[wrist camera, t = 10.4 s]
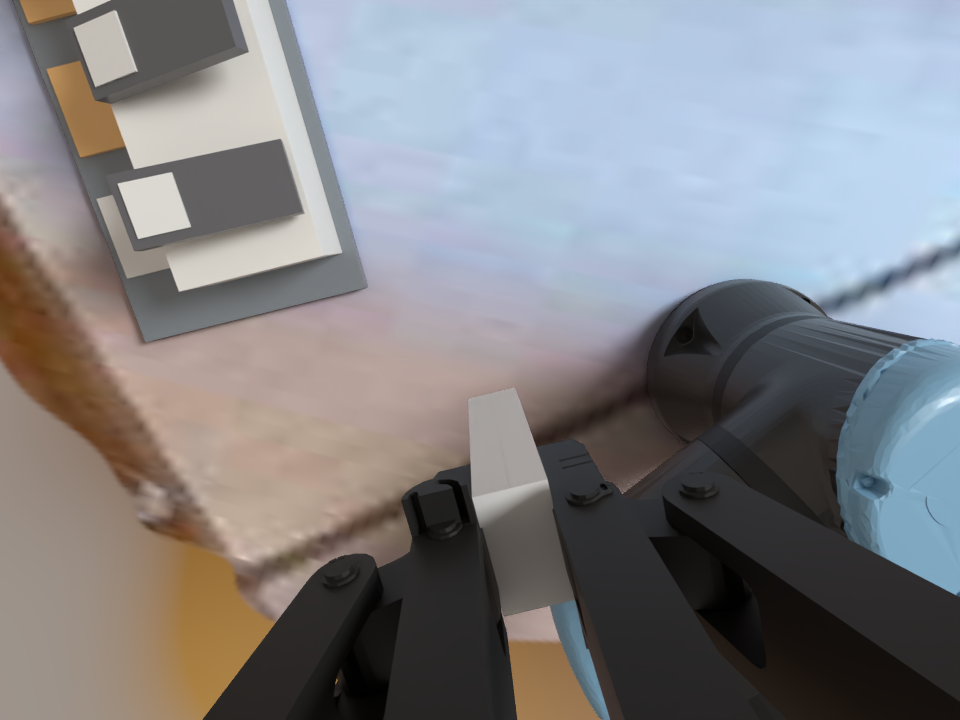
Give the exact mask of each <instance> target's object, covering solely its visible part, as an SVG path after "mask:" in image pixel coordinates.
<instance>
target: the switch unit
mask: <svg viewBox="0 0 960 720" xmlns="http://www.w3.org/2000/svg"><path fill="white" fill-rule="evenodd" d="M108 1H110V0H13V3H14V5H15V8H16V10H17V13H18V15H19V18H20V21H21V23H22V26H23V28H24V31H25V33H26V36H27V39H28V41H29V44H30V46H31V49H32V51H33V54H34V57H35V59H36V62H37V64H38V67H39V69H40V72H41V75H42V77H43V80H44V82H45V85H46V87H47V90H48V93H49V95H50V98H51V100H52V103H53V106H54V108H55V111H56V113H57V116H58V118H59V121H60V124H61V126H62V129H63V131H64V134H65V136H66V139H67V142H68V144H69V147H70V149H71V152H72V154H73V157H74V160H75V162H76V165H77V167H78V170H79V172H80V175H81V178H82V180H83V183H84V185H85V188H86V190H87V193H88V196H89V198H90V201H91V203H92V206H93V208H94V211H95V214H96V216H97V219H98V221H99V224H100V226H101V229H102V232H103V234H104V237H105V239H106V242H107V244H108V247H109V250H110V252H111V255H112V257H113V260H114V263H115V265H116V268H117V270H118V273H119V275H120V278H121V281H122V283H123V286H124V288H125V291H126V293H127V296H128V299H129V301H130V304H131V306H132V309H133V311H134V314H135V317H136V319H137V322H138V324H139V327H140V329H141V332H142V335H143V337H144V340H145V342H149V341H153V340H157V339H161V338H165V337H169V336H173V335H177V334H181V333H185V332H189V331H193V330H197V329H201V328H205V327H209V326H213V325H217V324H221V323H225V322H229V321H234V320H238V319H242V318H246V317H250V316H254V315H258V314H262V313H266V312H270V311H274V310H278V309H282V308H286V307H290V306H294V305H298V304H302V303H306V302H310V301H314V300H318V299H322V298H326V297H331V296H335V295H339V294H343V293H347V292H351V291H355V290H359V289H363V288H366V287H368V285H367V281H366V278H365V274H364V271H363V267H362V264H361V261H360V257H359V254H358V250H357V247H356V243H355V240H354V236H353V233H352V229H351V226H350V222H349V219H348V215H347V212H346V208H345V205H344V201H343V198H342V194H341V191H340V187H339V184H338V181H337V177H336V174H335V170H334V167H333V163H332V160H331V156H330V153H329V149H328V146H327V142H326V139H325V135H324V132H323V128H322V125H321V121H320V118H319V114H318V111H317V107H316V104H315V100H314V97H313V94H312V90H311V87H310V83H309V80H308V76H307V73H306V69H305V66H304V62H303V59H302V55H301V52H300V48H299V45H298V41H297V38H296V34H295V31H294V27H293V24H292V20H291V17H290V14H289V10H288V7H287V3H286V0H233V1H234V5H235V8H236V11H237V14H238V18H239V21H240V24H241V27H242V31H243V34H244V37H245V41H246V44H247V47H248V50H249V52H248V53H245V54H242V55H240V56H237V57H235V58H232V59H229V60H227V61H224V62H221V63H219V64H216V65H213V66H211V67H208V68H206V69H203V70H200V71H198V72H195V73H192V74H190V75H187V76H184V77H182V78H179V79H176V80H174V81H171V82H169V83H166V84H163V85H161V86H158V87H155V88H153V89H150V90H147V91H145V92H142V93H140V94H137V95H134V96H132V97H129V98H126V99H124V100H121V101H118V102H116V103H113V104H109V103H104V102H99V101H95V100H94V97H93V94H92V92H91V89H90V86H89V84H88V81H87V78H86V76H85V73H84V70H83V67H82V65H81V62H80V59H79V57H78V54H77V51H76V49H75V46H74V43H73V41H72V38H71V35H70V33H69V30H68V27H67V24H66V22H65V20H67V19H69V18H71V17H74V16H76V15H78V14H80V13H83V12H85V11H87V10H90V9H92V8H94V7H96V6H99V5H101V4H103V3H105V2H108ZM277 139H281V140H282V142H283V144H284V147H285V150H286V154H287V157H288V160H289V164H290V167H291V170H292V173H293V177H294V180H295V183H296V187H297V190H298V193H299V196H300V200H301V203H302V206H303V210H304V213H305V214H301V215H297V216H293V217H288V218H284V219H280V220H275V221H271V222H267V223H263V224H258V225H254V226H250V227H245V228H241V229H237V230H232V231H228V232H224V233H219V234H215V235H211V236H206V237H202V238H198V239H193V240H189V241H185V242H181V243H176V244H172V245H168V246H163V247H159V248H155V249H150V250H146V251H134V250H133V247H132V244H131V242H130V239H129V236H128V234H127V231H126V229H125V226H124V223H123V221H122V218H121V215H120V213H119V210H118V207H117V205H116V202H115V199H114V197H113V194H112V192H111V189H110V186H109V184H108V181H107V178H106V176H105V175H109V174H114V173H119V172H124V171H128V170H133V169H138V168H143V167H147V166H152V165H157V164H162V163H167V162H171V161H176V160H181V159H186V158H190V157H195V156H200V155H205V154H210V153H214V152H219V151H224V150H229V149H234V148H238V147H243V146H248V145H253V144H257V143H262V142H267V141H272V140H277Z"/></svg>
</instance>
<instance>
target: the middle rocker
mask: <svg viewBox="0 0 960 720" xmlns="http://www.w3.org/2000/svg"><path fill="white" fill-rule="evenodd" d="M65 22H66V24H67V27H68V30H69V33H70V35H71V38H72V41H73V43H74V46H75V49H76V51H77V54H78V57H79V59H80V62H81V65H82V67H83V70H84V73H85V76H86V78H87V81H88V84H89V86H90V89H91V92H92V94H93V97H94V100H95V101H99V102H104V103H109V104H113V103H116V102H118V101H121V100H124V99H126V98H129V97H132V96H134V95H137V94H140V93H142V92H145V91H147V90H150V89H153V88H155V87H158V86H161V85H163V84H166V83H169V82H171V81H174V80H176V79H179V78H182V77H184V76H187V75H190V74H192V73H195V72H198V71H200V70H203V69H206V68H208V67H211V66H213V65H216V64H219V63H221V62H224V61H227V60H229V59H232V58H235V57H237V56H240V55H242V54H245V53H248V52H249V50H248V47H247V44H246V41H245V37H244V34H243V31H242V27H241V24H240V21H239V18H238V14H237V11H236V8H235V5H234V1H233V0H110V1H108V2H105V3H103V4H101V5H99V6H96V7H94V8H92V9H90V10H87V11H85V12H83V13H80V14H78V15H76V16H74V17H71V18H69V19H67V20H65Z"/></svg>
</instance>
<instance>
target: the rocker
mask: <svg viewBox="0 0 960 720" xmlns="http://www.w3.org/2000/svg"><path fill="white" fill-rule="evenodd" d="M105 176H106V178H107V181H108V184H109V186H110V189H111V192H112V194H113V197H114V199H115V202H116V205H117V207H118V210H119V213H120V215H121V218H122V221H123V223H124V226H125V229H126V231H127V234H128V236H129V239H130V242H131V244H132V247H133V250H134V251H146V250H150V249H155V248H159V247H163V246H168V245H172V244H176V243H181V242H185V241H189V240H193V239H198V238H202V237H206V236H211V235H215V234H219V233H224V232H228V231H232V230H237V229H241V228H245V227H250V226H254V225H258V224H263V223H267V222H271V221H275V220H280V219H284V218H288V217H293V216H297V215H301V214H305V213H304V210H303V206H302V203H301V200H300V196H299V193H298V190H297V187H296V183H295V180H294V177H293V173H292V170H291V167H290V164H289V160H288V157H287V154H286V150H285V147H284V144H283V142H282V140H281V139H277V140H272V141H267V142H262V143H257V144H253V145H248V146H243V147H238V148H234V149H229V150H224V151H219V152H214V153H210V154H205V155H200V156H195V157H190V158H186V159H181V160H176V161H171V162H167V163H162V164H157V165H152V166H147V167H143V168H138V169H133V170H128V171H124V172H119V173H114V174H109V175H105Z"/></svg>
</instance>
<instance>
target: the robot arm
mask: <svg viewBox="0 0 960 720" xmlns="http://www.w3.org/2000/svg"><path fill="white" fill-rule="evenodd" d="M647 388H648V394H649V398H650V401H651V404H652V406H653V409H654V411H655V413H656V415H657V416H658V418H659V420H660V421H661V422H662V424H663V425H664V426H665V427H666V428H667V429H668V430H669V431H670V432H671V433H672V434H673V435H674V436H675V437H676V438H677V439H678V440H679V441H680V442H681V443H683V444H684V445H685V447H683V448H682V449H681V450H679V451H678V452H677V453H676V454H674V455H673V456H672V457H670V458H669V459H668V460H666V461H665V462H664V463H663V464H661V465H660V466H659V467H657V468H656V469H655V470H653V471H652V472H651V473H650V474H648V475H647V476H646V477H644V478H643V479H642V480H640V481H639V482H638V483H637V484H635V485H634V486H633V487H631V488H630V489H629V490H627V491H626V492H625V493H624V494H621V492H620V490H619V489H618V488H617V487H616V486H615V485H614V484H613V483H610V482H607V481H604V479H603V477H602V475H601V474H600V472H599V470H598V469H597V467H596V465H595V463H594V462H593V460H592V458H591V457H590V455H589V453H588V451H587V450H586V448H585V446H584V445H583V444H581V443H579V442H577V441H575V440H573V439H568V440H564V441H560V442H556V443H552V444H547V445H543V446H539V447H536V445H535V442H534V440H533V437H532V434H531V431H530V428H529V425H528V423H527V420H526V417H525V414H524V411H523V408H522V405H521V403H520V400H519V397H518V394H517V391H516V388H511V389H507V390H503V391H498V392H494V393H490V394H486V395H482V396H478V397H474V398H469V399H468V410H469V435H470V460H471V464H470V465H466V466H462V467H458V468H454V469H450V470H445V471H441V472H438V474H437V475H436V476H435V477H434V478H433V479H431V480H428V481H425V482H422V483H420V484H418V485H417V486H415V487H413V488H412V489H410V490H409V491H408V492H407V493H405V495H404V496H403V498H402V500H401V501H402V505H403V508H404V511H405V515H406V518H407V521H408V525H409V528H410V531H411V535H412V543H411V549H410V552H409V553H407V554H406V555H404V556H403V557H401V558H399V559H397V560H395V561H393V562H391V563H389V564H386V565H384V566H382V567H379V568H377V566H376V563H375V560H374V558H373V557H371V556H369V555H367V554H351V555H344V556H341V557H338V559H336V558H335V559H333V560H331V561H329V562H328V563H327V564H326V565H324V566H323V567H321V568H320V569H318V570H317V571H316V572H315V573H314V574H313V575H312V576H311V577H310V578H309V580H308V581H307V582H306V584H305V585H304V586H303V588H302V589H301V590H300V592H299V593H298V594H297V596H296V597H295V598H294V600H293V601H292V602H291V604H290V605H289V606H288V608H287V609H286V610H285V611H284V613H283V614H282V615H281V617H280V618H279V619H278V621H277V622H276V623H275V625H274V626H273V627H272V629H271V630H270V631H269V633H268V634H267V635H266V637H265V638H264V639H263V641H262V642H261V643H260V645H259V646H258V647H257V648H256V650H255V651H254V652H253V654H252V655H251V656H250V658H249V659H248V660H247V662H246V663H245V664H244V666H243V667H242V668H241V670H240V671H239V672H238V674H237V675H236V676H235V678H234V679H233V680H232V681H231V683H230V684H229V685H228V687H227V688H226V689H225V691H224V692H223V693H222V695H221V696H220V697H219V699H218V700H217V701H216V703H215V704H214V705H213V707H212V708H211V709H210V711H209V712H208V713H207V714H206V716H205V717H204V718H203V720H517V715H516V705H515V698H514V689H513V680H512V672H511V663H510V655H509V646H508V638H507V632H506V628H505V624H504V620H503V617H502V613H501V608H502V611H503V615H504V616H508V615H513V614H517V613H521V612H525V611H530V610H534V609H538V608H543V607H547V606H550V608H551V612H552V616H553V620H554V623H555V626H556V629H557V632H558V635H559V638H560V641H561V644H562V646H563V649H564V652H565V654H566V656H567V659H568V661H569V663H570V666H571V668H572V670H573V672H574V674H575V676H576V678H577V680H578V682H579V684H580V686H581V688H582V690H583V692H584V694H585V696H586V698H587V699H588V701H589V703H590V705H591V706H592V708H593V710H594V711H595V713H596V714H597V715H598V717H599V718H600V719H602V720H960V346H959V345H956V344H954V343H952V342H947V341H944V340H934V339H932V338H931V339H929V340H928V339H924V338H919V337H914V336H909V335H904V334H900V333H895V332H890V331H885V330H880V329H876V328H871V327H866V326H861V325H856V324H852V323H847V322H842V321H837V320H833V319H832V318H830V317H827V315H826V314H825V313H824V311H823V310H822V309H821V308H820V307H819V306H818V305H817V304H816V303H815V302H813V301H812V300H811V299H810V298H808V297H807V296H805V295H804V294H802V293H800V292H799V291H797V290H794V289H792V288H790V287H787V286H785V285H781V284H778V283H773V282H767V281H761V280H753V279H737V280H729V281H724V282H721V283H717V284H714V285H711V286H709V287H707V288H704V289H702V290H700V291H699V292H697V293H695V294H693V295H692V296H690V297H689V298H688V299H686V300H685V301H684V302H682V303H681V304H680V305H679V306H678V307H677V308H676V309H675V310H674V311H673V312H672V313H671V314H670V315H669V317H668V318H667V319H666V320H665V322H664V323H663V325H662V326H661V328H660V330H659V331H658V333H657V335H656V337H655V339H654V342H653V344H652V347H651V350H650V354H649V358H648V363H647ZM500 604H501V605H500ZM336 679H337V680H338V681H337V683H336V685H335V682H336Z"/></svg>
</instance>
